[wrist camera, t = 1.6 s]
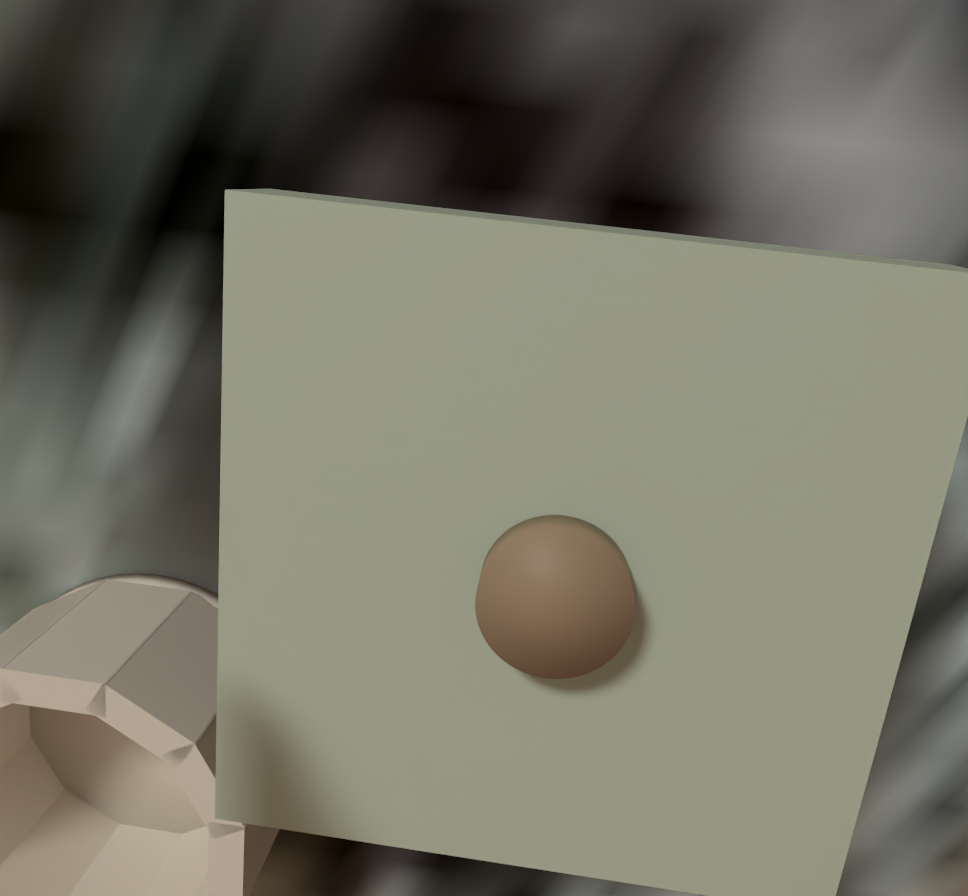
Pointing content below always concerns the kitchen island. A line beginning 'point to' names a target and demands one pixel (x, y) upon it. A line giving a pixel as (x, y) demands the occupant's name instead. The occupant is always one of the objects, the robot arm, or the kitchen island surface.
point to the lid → (570, 535)
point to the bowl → (117, 747)
